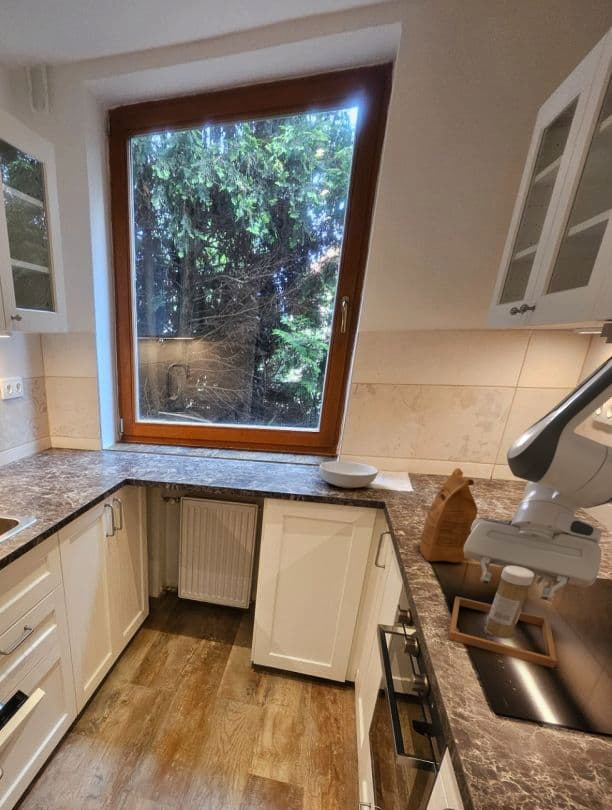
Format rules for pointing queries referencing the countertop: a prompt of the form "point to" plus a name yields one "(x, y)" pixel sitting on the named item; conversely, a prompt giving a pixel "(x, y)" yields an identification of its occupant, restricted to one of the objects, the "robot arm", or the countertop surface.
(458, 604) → the wooden frame
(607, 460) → the robot arm
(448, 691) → the countertop surface
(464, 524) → the coffee package
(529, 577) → the sprinkles bottle
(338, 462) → the serving bowl
